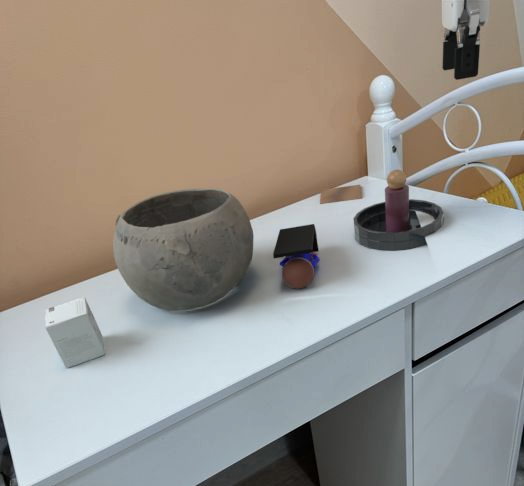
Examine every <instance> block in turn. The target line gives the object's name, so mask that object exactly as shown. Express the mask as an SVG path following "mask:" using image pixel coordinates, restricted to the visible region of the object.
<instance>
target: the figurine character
mask: <svg viewBox="0 0 524 486" xmlns="http://www.w3.org/2000/svg"><path fill="white" fill-rule="evenodd" d="M318 252H320V251H319V244H318V235H317V229H316V225H315V223H312V224H305V225H298V226H293V227H287V228H280V229H279V230H278V236H277V239H276V242H275V247H274V250H273V253H272V258H273V259H279V258H284V259H282V260H281V261H279V266H280V267H281V270H282V271H281V273H282V280H283V282H284V283H285V284H286V285H287V286H288V287H290V288H291V289H296V290H297V289H298V290H299V289H304V288H307V286H309V285H310V284H311V283H312V281H313V280H314V277H315V270H314V268H316V266H317V264H318V263H319V262H320V258H319V256H318Z"/></svg>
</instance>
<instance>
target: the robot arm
mask: <svg viewBox="0 0 524 486" xmlns="http://www.w3.org/2000/svg"><path fill="white" fill-rule="evenodd" d="M489 21H490V0H441V24H442V27H443V28H444V32H443V42H442V67H441V69H442V70H443V71H449V70H450V71H451V70H453V79H454V80H457V81H459V80H464V79H469V78H475V77H478V75H479V66H480V65H479V64H480V52H481V51H480V48H481V44H480V43H481V34H480V31H481V27H485V26H486V25H487V24H488V22H489Z"/></svg>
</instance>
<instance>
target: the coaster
mask: <svg viewBox="0 0 524 486" xmlns="http://www.w3.org/2000/svg"><path fill="white" fill-rule="evenodd" d="M362 199H363V196H362V188H361V184H354V185H346V186H339V187H333V188H323V189H320V196H319V205H324V204H325V205H326V204H333V203H339V202H348V201H355V200H362Z"/></svg>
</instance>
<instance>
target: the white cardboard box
mask: <svg viewBox="0 0 524 486" xmlns="http://www.w3.org/2000/svg"><path fill="white" fill-rule="evenodd" d="M44 328H45V331H46V332H47V335H48V336H49V338H50V340H51V343H52V344H53V347H54V348H55V350H56V352H57V354H58V356H59V358H60V359H61V362H62V363H63V366H64V367H65V368H66V369H68V368H71V367H74V366H78V365H79V364H83V363H85V362H88V361H91V360H94V359H97V358H100V357H103V356H105V355H106V352H105V347H104V340H103V339H104V337H103V334H102V331H101V329H100V327H99V325H98V323H97V320H96V318H95V316H94V314H93V311H92V310H91V307H90V305H89V303H88V301H87V298H86V297H85V296H82V297H79V298H76V299H73V300H70V301H68V302H64V303H61V304H58V305H55V306H52V307H49V308H46V309H45V316H44Z"/></svg>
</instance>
